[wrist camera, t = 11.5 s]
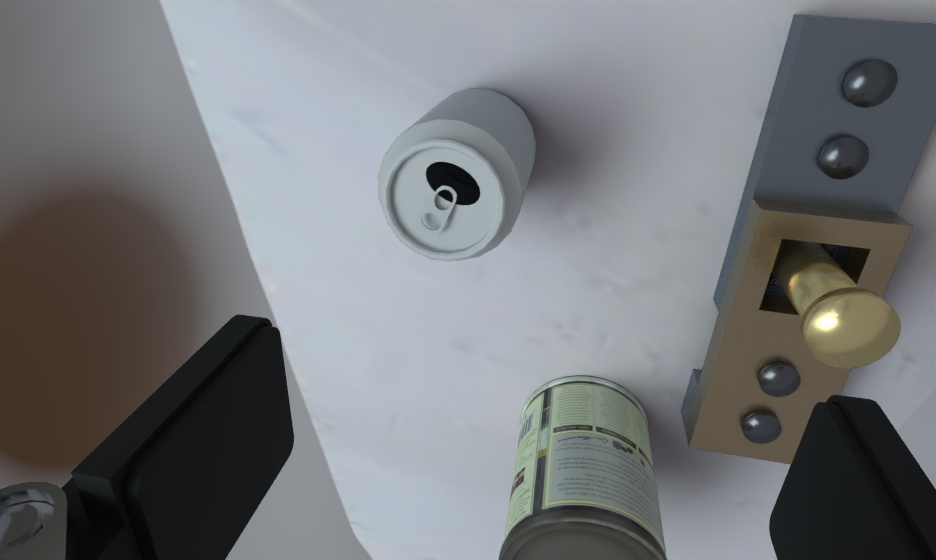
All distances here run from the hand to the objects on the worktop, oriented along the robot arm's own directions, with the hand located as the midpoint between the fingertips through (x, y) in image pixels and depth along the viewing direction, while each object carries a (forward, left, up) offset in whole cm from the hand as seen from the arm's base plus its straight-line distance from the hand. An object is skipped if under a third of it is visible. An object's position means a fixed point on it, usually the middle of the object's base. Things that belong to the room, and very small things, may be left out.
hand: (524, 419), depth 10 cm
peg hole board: (+8, +15, -30) cm, 35 cm away
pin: (+8, +15, -30) cm, 35 cm away
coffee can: (+25, +4, -30) cm, 39 cm away
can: (+3, -6, -30) cm, 31 cm away
